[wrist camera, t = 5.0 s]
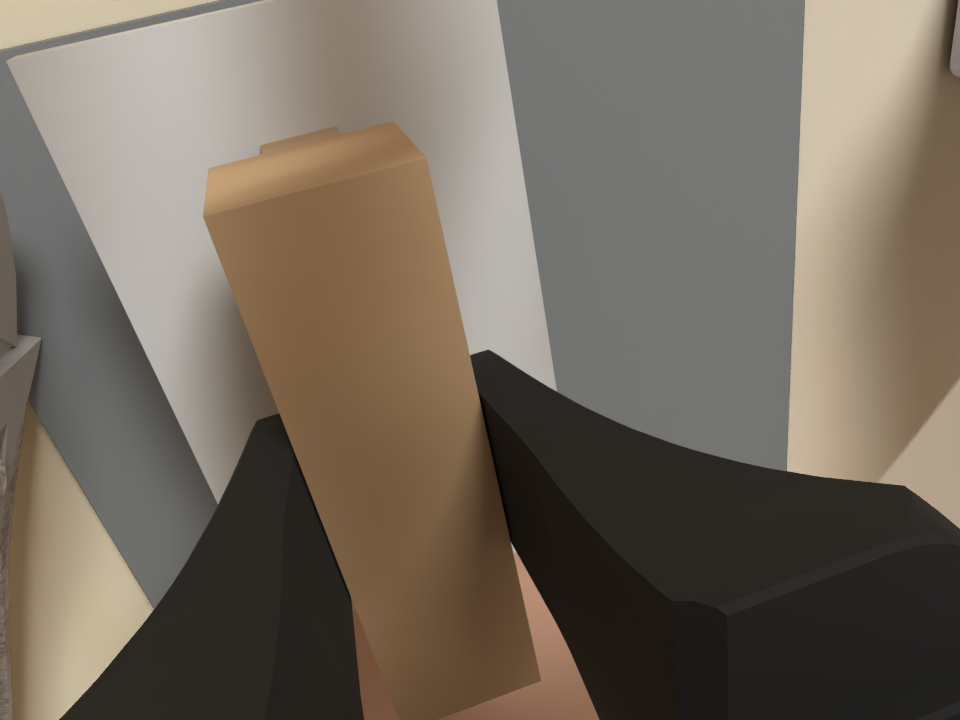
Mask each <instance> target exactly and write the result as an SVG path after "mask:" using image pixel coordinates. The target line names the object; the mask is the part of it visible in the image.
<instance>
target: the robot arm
mask: <svg viewBox="0 0 960 720" xmlns="http://www.w3.org/2000/svg"><path fill="white" fill-rule="evenodd" d="M950 70H951V72H952V74H953V75H955V76H957V77H960V0H958V7H957V14H956V22H955V29H954V36H953V44H952V51H951V59H950ZM470 358H471V363H472V367H473V372H474V376H475V381H476V386H477V390H478V395H479V399H480V404H481V408H482V413H483V417H484V422H485V427H486V431H487V436H488V440H489V445H490V449H491V454H492V458H493V463H494V468H495V472H496V477H497V481H498V486H499V490H500V495H501V500H502V504H503V509H504V513H505V518H506V522H507V527H508V531H509V536H510V541H511V543H512V545H513V547H514V549H515V550H516V552H517V554H518V556H519V558H520V559H521V561H522V563H523V565H524V567H525V568H526V570H527V572H528V574H529V575H530V577H531V579H532V581H533V583H534V584H535V586H536V588H537V590H538V592H539V593H540V595H541V597H542V599H543V601H544V602H545V604H546V606H547V608H548V610H549V611H550V613H551V615H552V617H553V618H554V620H555V622H556V624H557V626H558V628H559V630H560V632H561V634H562V636H563V638H564V640H565V642H566V644H567V646H568V648H569V650H570V652H571V655H572V657H573V659H574V662H575V664H576V666H577V669H578V671H579V673H580V675H581V678H582V680H583V682H584V685H585V687H586V689H587V692H588V694H589V696H590V699H591V701H592V703H593V706H594V708H595V710H596V713H597V715H598V718H599V720H960V529H959V528H958V527H957V526H956V525H954V524H953V523H952V522H951V521H950V520H948V519H947V518H946V517H945V516H944V515H942V514H941V513H940V512H939V511H938V510H936V509H935V508H933V507H932V506H931V505H930V504H928V503H927V502H926V501H924V500H923V499H921V498H920V497H919V496H918V495H916V494H915V493H913V492H912V491H911V490H909V489H908V488H906V487H905V486H900V485H891V484H881V483H872V482H862V481H853V480H843V479H834V478H824V477H817V476H811V475H805V474H799V473H793V472H788V471H782V470H776V469H771V468H765V467H761V466H756V465H751V464H747V463H742V462H738V461H733V460H730V459H726V458H722V457H718V456H715V455H711V454H707V453H703V452H700V451H696V450H692V449H689V448H686V447H683V446H680V445H676V444H673V443H670V442H668V441H665V440H662V439H659V438H657V437H654V436H651V435H648V434H646V433H643V432H640V431H637V430H635V429H632V428H630V427H627V426H625V425H623V424H620V423H618V422H616V421H613V420H611V419H609V418H607V417H605V416H603V415H601V414H599V413H596V412H594V411H592V410H590V409H588V408H586V407H584V406H582V405H580V404H578V403H576V402H575V401H573V400H571V399H569V398H567V397H566V396H564V395H562V394H560V393H559V392H557V391H555V390H553V389H551V388H550V387H548V386H546V385H545V384H543V383H541V382H540V381H538V380H537V379H535V378H533V377H532V376H530V375H528V374H527V373H525V372H524V371H522V370H521V369H519V368H517V367H516V366H514V365H513V364H511V363H510V362H508V361H507V360H505V359H504V358H502V357H501V356H499V355H497V354H496V353H494V352H492V351H491V350H489V349H488V350H485V351H482V352H478V353H475V354H472V355H470ZM59 720H364V715H363V708H362V701H361V693H360V683H359V672H358V662H357V652H356V641H355V631H354V621H353V610H352V600H351V596H350V593H349V590H348V588H347V585H346V583H345V580H344V578H343V575H342V572H341V570H340V567H339V565H338V562H337V560H336V557H335V554H334V552H333V549H332V547H331V544H330V542H329V539H328V537H327V534H326V531H325V529H324V526H323V524H322V521H321V519H320V516H319V513H318V511H317V508H316V506H315V503H314V501H313V498H312V495H311V493H310V490H309V488H308V485H307V483H306V480H305V478H304V475H303V472H302V470H301V467H300V465H299V462H298V460H297V457H296V454H295V452H294V449H293V447H292V444H291V442H290V439H289V436H288V434H287V431H286V429H285V426H284V424H283V421H282V418H281V416H280V413H279V414H275V415H272V416H269V417H266V418H262V419H259V420H257V421H256V423H255V425H254V426H253V428H252V430H251V432H250V435H249V437H248V440H247V442H246V444H245V447H244V449H243V452H242V454H241V456H240V459H239V461H238V463H237V466H236V468H235V470H234V472H233V474H232V477H231V479H230V481H229V483H228V485H227V487H226V489H225V491H224V493H223V495H222V497H221V499H220V501H219V504H218V506H217V508H216V510H215V512H214V514H213V516H212V517H211V519H210V521H209V523H208V525H207V527H206V528H205V530H204V532H203V534H202V535H201V537H200V539H199V541H198V542H197V544H196V546H195V548H194V549H193V551H192V553H191V555H190V556H189V558H188V560H187V562H186V563H185V565H184V566H183V568H182V570H181V571H180V573H179V574H178V576H177V577H176V579H175V581H174V582H173V584H172V585H171V587H170V588H169V589H168V591H167V592H166V594H165V595H164V596H163V598H162V599H161V601H160V602H159V603H158V605H157V606H156V608H155V609H154V610H153V612H152V613H151V614H150V616H149V617H148V618H147V620H146V621H145V622H144V624H143V625H142V626H141V627H140V629H139V630H138V631H137V632H136V633H135V635H134V636H133V637H132V638H131V639H130V641H129V642H128V643H127V644H126V645H125V647H124V648H123V649H122V650H121V651H120V653H119V654H118V655H117V656H116V657H115V659H114V660H113V661H112V662H111V663H110V665H109V666H108V667H107V668H106V669H105V671H104V672H103V673H102V674H101V675H100V677H99V678H98V679H97V680H96V681H95V682H94V683H93V684H92V686H91V687H90V688H89V689H88V690H87V691H86V692H85V693H84V694H83V695H82V696H81V697H80V698H79V700H78V701H77V702H76V703H75V704H74V705H73V706H72V707H71V708H70V709H69V710H68V711H67V712H66V713H65V714H64V715H63V716H62V717H61V718H60V719H59Z"/></svg>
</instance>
